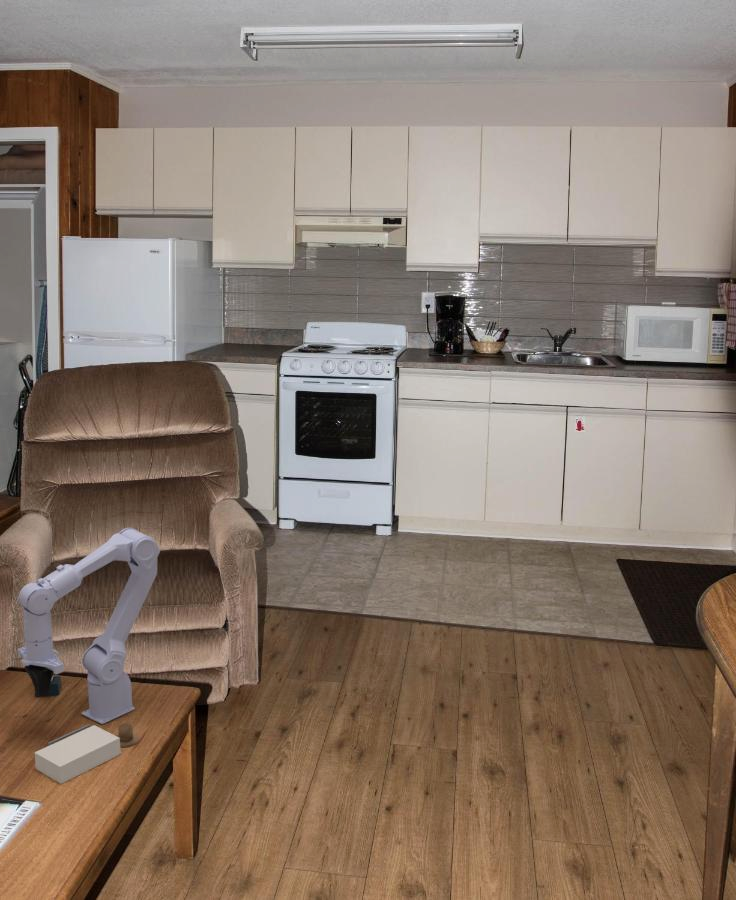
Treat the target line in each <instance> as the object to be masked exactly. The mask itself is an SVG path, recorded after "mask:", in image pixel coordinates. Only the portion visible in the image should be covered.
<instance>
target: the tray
mask: <svg viewBox="0 0 736 900" xmlns="http://www.w3.org/2000/svg"><path fill="white" fill-rule="evenodd" d="M91 726H92V725H91V724H90V723H87V724H85V725H84V726H81V727H80V728H76V729H75V730H73V731H70V732H68V733H66V734H63V735H62V736H59V737H57V738H55V739H53V740H51V741H48V742H47V747H48V746H50V745H52V744H54V743H56V742H58V741H61V740H63V739H65V738H67V737H69V736H71V735H74V734H76V733H78V732H80V731H82V730H84V729H87V728H89V727H91Z"/></svg>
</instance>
